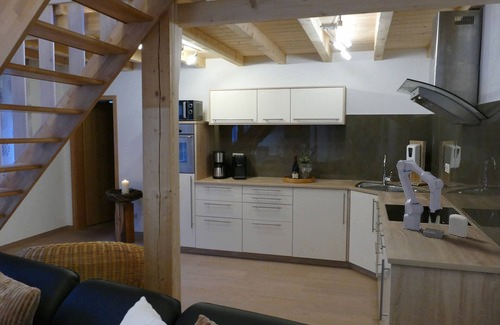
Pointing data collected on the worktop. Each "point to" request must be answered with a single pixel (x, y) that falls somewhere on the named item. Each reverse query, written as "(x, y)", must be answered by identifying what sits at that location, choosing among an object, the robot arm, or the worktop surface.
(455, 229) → the photo printer
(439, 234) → the grey block
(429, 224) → the green cube
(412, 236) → the worktop surface
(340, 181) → the worktop surface
